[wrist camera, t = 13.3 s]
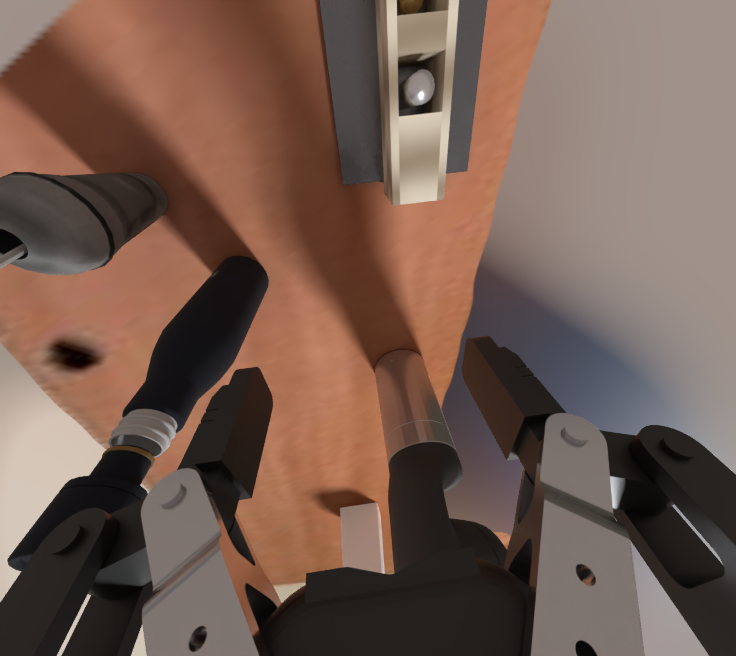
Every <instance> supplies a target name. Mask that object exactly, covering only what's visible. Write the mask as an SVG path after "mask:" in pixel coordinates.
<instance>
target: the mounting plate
mask: <svg viewBox="0 0 736 656" xmlns="http://www.w3.org/2000/svg"><path fill="white" fill-rule="evenodd" d="M319 1H320V9H321V17H322V24H323V32H324V40H325V48H326V55H327V63H328V71H329V79H330V86H331V94H332V102H333V110H334V118H335V125H336V133H337V141H338V149H339V156H340V164H341V172H342V180H343V185H349V184H358V183H367V182H376V181H384V171H383V150H382V129H381V108H380V87H379V66H378V45H377V24H376V3H375V0H319ZM486 8H487V0H459V7H458V21H457V34H456V47H455V60H454V73H453V86H452V100H451V113H450V126H449V139H448V152H447V166H446V173H455V172H464V171H467V168H468V160H469V151H470V143H471V134H472V126H473V118H474V109H475V101H476V92H477V84H478V76H479V67H480V59H481V50H482V42H483V34H484V25H485V17H486ZM417 13H427V0H397V16H399V15H408V14H417ZM434 88H435V82H434V78H433V76H432V74H431V73H430V72H429V71H428V70H425V65H417V66H408V67H399V68H398V109H399V117H400V116H409V115H418V114H424V103H426V102H428V101H429V100H430V98H431V97H432V95H433V92H434Z"/></svg>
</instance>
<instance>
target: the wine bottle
mask: <svg viewBox="0 0 736 656" xmlns="http://www.w3.org/2000/svg"><path fill="white" fill-rule="evenodd" d="M268 281H269V280H268V276H267V273H266V272H265V270H264V269H263V267H262V266H261V265H260V264H258V263H257V262H256V261H254V260H252V259H250V258H248V257H243V256H232V257H230V258H227V259H225V260H224V261H223V262H222V263H221V264H220V266H219V267H218V268H217V269H216V270H215V271H214V272H213V274H212V275H211V276H210V277H209V278H208V279H207V280H206V282H205V283H204V284H203V285H202V286H201V287H200V288H199V290H198V291H197V292H196V293H195V294H194V295H193V296H192V298H191V299H190V300H189V301H188V302H187V303H186V304H185V306H184V307H183V308H182V309H181V310H180V311H179V312H178V314H177V315H176V316H175V317H174V318H173V319H172V320H171V322H170V323H169V324H168V325H167V326H166V327H165V328H164V330H163V331H162V333H161V335H160V337H159V339H158V341H157V343H156V346H155V348H154V350H153V353H152V356H151V360H150V364H149V368H148V372H147V377H146V381H145V383H144V384H143V385H142V386H141V388H140V389H139V390H138V392H137V393H136V394H135V396H134V397H133V398H132V399H131V401H130V402H129V403H128V405H127V406H126V407H125V409H124V410H123V415H122V416H123V418H122V419H121V420H120V421H119V425H118V426H117V427H116V428H115V429H114V430H113V431H112V434H111V438H110V439H109V445H110V447H111V448H108V449H107V450H106V451H105V452H104V453H103V455H102V459H101V460H100V461H99V463H98V464H97V466H96V467H95V468H94V470H93V471H92V473H91V474H90V475H89V476H83V477H78V478H75V479H71V480H70V481H68V482H67V483H66V484H65V485H64V487H63V488H62V489H61V490H60V492H59V493H58V494H57V495H56V497H55V498H54V499H53V501H52V502H51V503H50V504H49V506H48V507H47V508H46V510H45V511H44V512H43V514H42V515H41V516H40V517H39V519H38V520H37V521H36V523H35V524H34V525H33V527H32V528H31V529H30V530H29V532H28V533H27V534H26V536H25V537H24V538H23V540H22V541H21V542H20V543H19V545H18V546H17V547H16V549H15V550H14V551H13V553H12V554H11V555H10V557H9V558H8V565H9V566H11V567H12V568H14V569H15V570H19V571H22V570H23V569H24V567H25V566H26V564H27V563H28V561H29V560H30V558H31V557H32V556H33V554H34V553H35V551H36V550H37V548H38V547H39V545H40V544H41V543H42V541H43V540H44V539H45V538H46V537H47V536H48V535H49V534H50V533H51V532H52V531H53V530H54V529H55V528H56V527H57V526H58V525H59V524H61V523H62V522H63V521H65V520H66V519H67V518H69V517H70V516H72V515H74V514H76V513H78V512H80V511H82V510H85V509H88V508H99V509H102V510H103V511H105V512H107V513H108V514H111V513H113V512H115V511H118V510H120V509H122V508H124V507H127V506H129V505H131V504H133V503H135V502H138V501H140V500H142V499H144V498H146V496H147V495H148V494H147V491H146V490H145V489H144V488H142V487H141V486H140V484H141V483H142V481H143V479H144V477H145V475H146V474H147V472H148V470H149V468H151V467H152V466H153V464H154V461H155V459H154V458H155V457H158V456H160V455H161V454H163V452H164V450H166V449H167V448H169V446H170V444H171V440H172V439H173V438H174V437H175V435H176V433H177V432H179V431H180V430H181V429H182V428H183V427H184V425H185V423H186V421H187V419H188V417H189V415H190V413H191V411H192V409H193V407H194V406H195V404H196V402H197V400H198V399H199V398H200V397H201V396H202V395H204V394H205V393H206V392H207V391H208V390H209V389H210V388H211V387H213V386H214V385H215V384H216V383H217V382H218V381H219V380H220V379H221V378H222V376H223V375H224V374H225V373H226V372H227V371H228V369H229V368H230V366H231V365H232V364H233V362H234V360H235V359H236V357H237V354H238V352H239V350H240V348H241V346H242V343H243V341H244V339H245V337H246V334H247V332H248V330H249V328H250V326H251V323H252V321H253V319H254V317H255V315H256V312H257V310H258V308H259V306H260V303H261V301H262V299H263V297H264V295H265V292H266V290H267V288H268Z"/></svg>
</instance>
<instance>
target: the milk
mask: <svg viewBox="0 0 736 656" xmlns="http://www.w3.org/2000/svg"><path fill="white" fill-rule="evenodd" d="M340 519H341V540H342V562H343V567H351V568H357V569H362V570H367V571H372V572H378V573H383V574H385V572H384V557H383V543H382V529H381V515H380V512H379V508H378V504H377V502H376V503H369V504H363V505H356V506H349V507H342V508H340Z"/></svg>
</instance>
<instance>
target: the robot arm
mask: <svg viewBox="0 0 736 656" xmlns="http://www.w3.org/2000/svg"><path fill="white" fill-rule="evenodd" d="M462 372H463V377H464V381H465V383H466V385H467V387H468V388H469V390H470V392H471V394H472V396H473V398H474V400H475V402H476V403H477V405H478V407H479V409H480V411H481V413H482V415H483V417H484V418H485V420H486V422H487V424H488V426H489V428H490V429H491V431H492V433H493V435H494V437H495V439H496V441H497V443H498V444H499V447H500V448H501V450H502V452H503V454H504V456H505V458H506V460H507V461H508V460H514V459H520V461H521V463H522V465H523V466H524V468H523V470H522V476H521V483H520V489H519V495H518V502H517V508H516V515H515V521H514V527H513V531H512V535H511V538H510V541H509V545H508V549H506V548H505V546H504V545H503V544H502V542H501V541H500V539H499V538H498V537H497V536H496V535H495V534H494V533H493V532H492V531H491V530H490V529H488V528H487V527H485V526H484V525H481V524H479V523H476V522H472V521H466V520H459V519H451V518H449V515H448V511H447V507H446V502H445V497H444V492H446V491H448V490H449V489H451V488H453V487H454V486H455V485H456V484H457V483H458V482H459V481H460V480H461V477H462V467H461V463H460V460H459V457H458V454H457V452H456V449H455V446H454V444H453V441H452V438H451V435H450V432H449V430H448V427H447V425H446V422H445V419H444V416H443V413H442V410H441V408H440V405H439V402H438V399H437V397H436V394H435V391H434V388H433V385H432V383H431V380H430V377H429V374H428V371H427V368H426V366H425V363H424V360H423V358H422V357H421V356H420V355H419V354H418V353H416V352H414V351H411V350H396V351H392V352H390V353H387V354H386V355H384V356H383V357H382V358H380V359H379V361H378V362H377V364H376V366H375V375H376V383H377V390H378V397H379V404H380V411H381V418H382V425H383V432H384V439H385V445H386V452H387V459H388V465H389V474H390V479H389V489H388V503H389V514H390V525H391V537H392V549H393V562H394V572H395V574H383V573H378V572H372V571H367V570H362V569H357V568H351V567H343V568H337V569H331V570H324V571H318V572H312V573H306V585H305V586H303V587H301V588H300V589H298V590H297V591H296V592H294V593H293V594H292V595H290V596H289V597H288V598H287V599H286V600H285V601H284V602H283V603H281V601H280V599H279V597H278V595H277V593H276V591H275V589H274V587H273V585H272V583H271V582H270V580H269V579H268V577H267V576H266V574H265V573H264V571H263V570H262V568H261V566H260V564H259V562H258V559H257V557H256V555H255V553H254V551H253V548H252V546H251V544H250V542H249V539H248V537H247V535H246V533H245V531H244V528H243V526H242V524H241V522H240V520H239V517H238V515H237V514H236V509H237V505H238V501H239V500H242V499H249V498H252V495H253V490H254V486H255V482H256V477H257V473H258V469H259V465H260V460H261V456H262V452H263V447H264V443H265V439H266V434H267V430H268V426H269V422H270V417H271V413H272V408H273V399H272V394H271V392H270V390H269V387H268V385H267V383H266V381H265V379H264V377H263V374H262V372H261V370H260V369H259V368H258V367H253V368H245V369H238V370H236V371H235V372H234V374H233V376H232V378H231V381H230V383H229V385H224V386H222V387H221V388H220V389H219V390H218V391H217V393H216V394H215V395H214V396H213V397H212V398H211V400H210V403H209V405H208V407H207V409H206V413H204V415H203V417H202V419H201V424H199V426H198V428H197V430H196V432H195V434H194V436H193V438H192V440H191V442H190V444H189V447H188V449H187V451H186V453H185V455H184V457H183V459H182V461H181V463H180V465H179V467H178V469H177V471H174V472H172V473H170V474H169V475H167V476H165V477H164V478H163V479H161V480H160V481H159V482H158V483H157V484H156V485H155V486H154V487H153V488H152V489H151V491H150V492H149V493H148V495H147V496H146V498H144V499H142V500H140V501H138V502H135V503H133V504H131V505H129V506H127V507H124V508H122V509H120V510H118V511H115V512H113V513H111V514H108V513H107V512H105V511H103V510H102V509H99V508H88V509H85V510H82V511H80V512H78V513H76V514H74V515H72V516H70V517H69V518H67V519H66V520H65V521H63V522H62V523H61V524H59V525H58V526H57V527H56V528H55V529H54V530H53V531H52V532H51V533H50V534H49V535H48V536H47V537H46V538H45V539H44V540H43V541H42V543H41V544H40V545H39V547H38V548H37V550H36V551H35V553H34V554H33V556H32V557H31V558H30V560H29V561H28V563H27V564H26V566H25V567H24V569H23V570H22V572H21V573H20V575H19V576H18V578H17V579H16V581H15V582H14V583H13V585H12V586H11V588H10V589H9V591H8V592H7V594H6V595H5V597H4V598H3V600H2V601H1V602H0V656H57V654H58V652H59V650H60V648H61V645H62V644H63V642H64V640H65V638H66V636H67V634H68V632H69V630H70V628H71V626H72V624H73V622H74V620H75V618H76V616H77V614H78V612H79V610H80V608H81V606H82V604H83V602H84V600H85V598H86V596H87V594H89V595H91V597H90V599H89V601H88V603H87V605H86V607H85V609H84V611H83V613H82V615H81V618H80V620H79V622H78V623H77V625H76V628H75V630H74V632H73V634H72V636H71V638H70V640H69V642H68V644H67V646H66V648H65V650H64V652H63V654H62V656H131V653H132V651H133V648H134V645H135V642H136V639H137V637H138V634H139V631H140V628H141V626H142V624H143V631H144V639H145V646H146V653H147V656H645V655H644V647H643V639H642V631H641V623H640V614H639V607H638V598H637V591H636V583H635V574H634V566H633V558H632V549H631V542H630V540H631V541H632V543H633V545H634V546H635V547H636V549H637V550H638V552H639V553H640V555H641V556H642V558H643V559H644V561H645V562H646V564H647V565H648V566H649V568H650V569H651V571H652V572H653V574H654V575H655V577H656V578H657V580H658V581H659V583H660V584H661V586H662V587H663V588H664V590H665V591H666V593H667V594H668V596H669V597H670V599H671V600H672V602H673V603H674V605H675V606H676V608H677V609H678V610H679V612H680V613H681V615H682V616H683V617H684V619H685V621H686V622H687V624H688V625H689V627H690V628H691V629H692V631H693V632H694V634H695V635H696V637H697V638H698V640H699V641H700V642H701V644H702V646H703V647H704V648H705V650H706V651H707V653H708V654H709V656H736V475H735V474H734V473H733V472H732V471H731V470H730V469H729V468H728V467H726V466H725V465H724V464H723V463H722V462H721V461H720V460H718V459H717V458H716V457H715V456H714V455H713V454H712V453H711V452H710V451H708V450H707V449H706V448H705V447H704V446H703V445H701V444H700V443H699V442H697V441H696V440H695V439H693V438H691V437H690V436H688V435H686V434H684V433H682V432H680V431H677V430H675V429H672V428H669V427H665V426H659V425H650V426H646V427H644V428H643V429H641V431H640V432H639V433H638V434H637V435H636V436H635V435H628V434H620V433H613V432H606V431H601V430H598V429H597V428H596V427H595V426H594V425H593V424H591V423H590V422H588V421H587V420H585V419H583V418H581V417H578V416H576V415H572V414H567V413H566V412H565V411H564V410H563V408H562V407H561V406H560V405H559V404H558V403H557V401H556V400H555V399H554V398H553V397H552V396H551V394H550V393H549V392H548V391H547V390H546V388H545V387H544V386H543V385H542V384H541V382H540V381H539V380H538V379H537V378H536V377H534V374H533V373H532V372H531V371H530V369H529V368H527V367H526V365H525V363H523V361H522V360H521V359H520V358H519V356H518V355H517V354H515V353H513V352H512V351H510V350H509V349H507V348H505V347H500V348H499V347H498V346H497V345H496V343H495V342H494V341H493V340H492V338H491V337H490V336H481V337H474V338H468V339H467V341H466V345H465V352H464V358H463V365H462ZM674 504H675V505H676V506H677V508H678V509H679V510H680V511H681V512H682V513H683V515H684V516H685V517H686V518H687V519H688V520H689V521H690V523H691V524H692V525H693V526H694V527H695V528H696V530H697V531H698V532H699V533H700V534H701V535H702V536H703V538H704V539H705V540H706V541H707V542H708V543H709V544H710V546H711V547H712V548H713V549H714V550H715V551H716V553H717V554H718V556H719V557H720V559H721V561H722V563H723V565H722V564H721V562H720V561H719V560H718V559H717V558H716V557H715V555H714V554H713V553H712V552H711V551H710V550H709V548H708V547H707V546H706V545H705V544H704V543H703V542H702V540H701V539H700V538H699V537H698V536H697V534H696V533H695V532H694V531H693V530H692V529H691V527H690V526H689V525H688V524H687V523H686V522H685V520H683V518H682V517H681V516H680V515H679V513H678V512H677V511H676V510H675V509H674V508H673V507H672V505H674ZM614 517H615V518H616V520H617V521H618V522H617V521H616V520H615V518H614Z"/></svg>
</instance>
